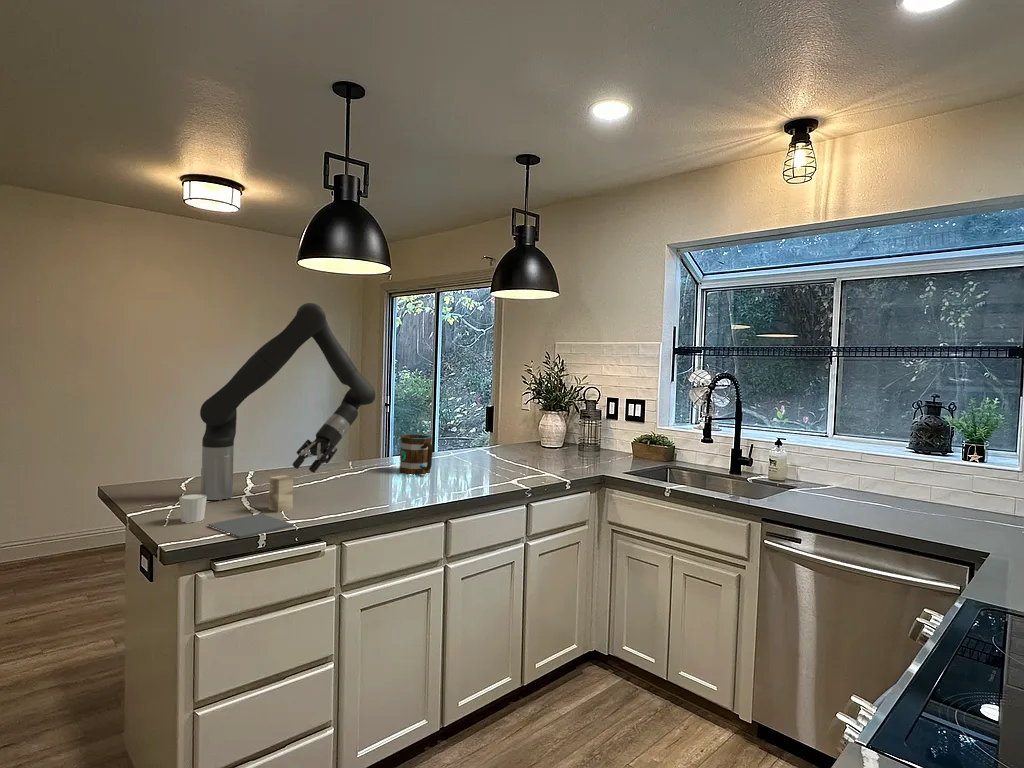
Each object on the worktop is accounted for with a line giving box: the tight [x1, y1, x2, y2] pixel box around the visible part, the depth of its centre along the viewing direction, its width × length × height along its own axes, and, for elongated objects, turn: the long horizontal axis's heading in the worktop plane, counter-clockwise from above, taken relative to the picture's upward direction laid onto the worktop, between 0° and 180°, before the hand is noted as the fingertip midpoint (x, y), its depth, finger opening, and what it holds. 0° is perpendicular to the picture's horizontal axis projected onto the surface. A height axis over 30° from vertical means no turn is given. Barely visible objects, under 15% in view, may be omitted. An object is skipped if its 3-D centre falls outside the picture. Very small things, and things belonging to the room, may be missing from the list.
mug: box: [398, 433, 434, 476], centre depth 251 cm, size 20×14×15 cm
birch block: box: [268, 474, 294, 513], centre depth 186 cm, size 5×5×10 cm
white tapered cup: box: [178, 493, 207, 523], centre depth 170 cm, size 7×7×7 cm
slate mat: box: [207, 513, 294, 540], centre depth 168 cm, size 16×16×1 cm
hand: (302, 469), depth 192 cm, fingers open, 8 cm apart
